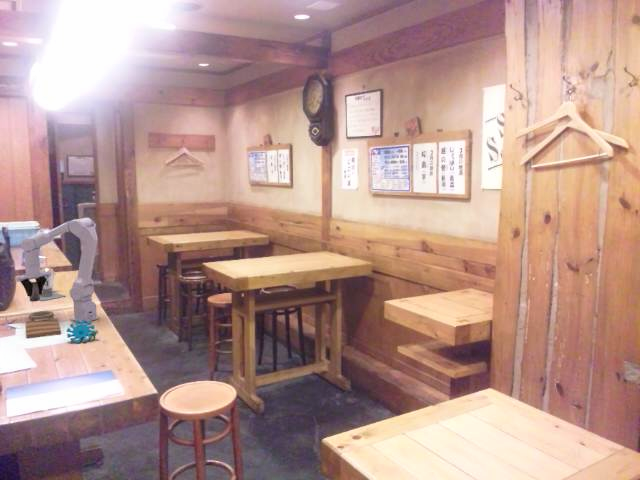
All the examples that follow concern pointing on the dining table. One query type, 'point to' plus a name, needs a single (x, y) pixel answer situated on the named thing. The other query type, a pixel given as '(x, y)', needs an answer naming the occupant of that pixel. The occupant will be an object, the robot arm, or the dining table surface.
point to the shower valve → (49, 294)
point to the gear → (81, 331)
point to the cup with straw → (49, 279)
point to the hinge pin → (35, 292)
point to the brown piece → (42, 324)
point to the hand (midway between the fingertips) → (34, 295)
